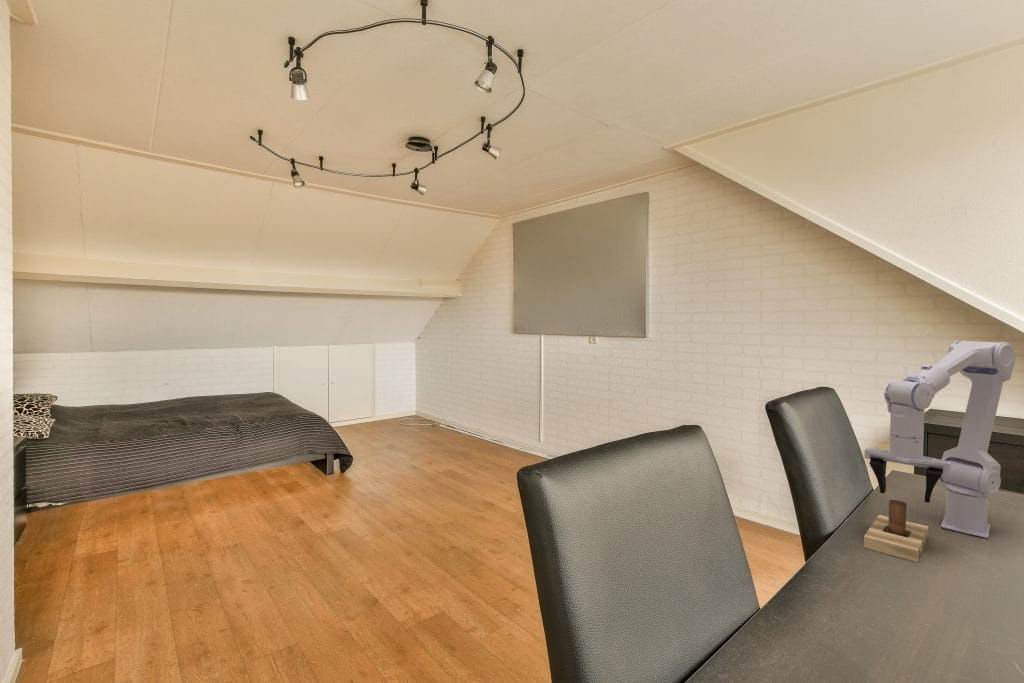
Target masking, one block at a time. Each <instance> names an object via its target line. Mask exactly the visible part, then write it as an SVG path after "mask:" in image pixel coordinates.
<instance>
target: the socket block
mask: <svg viewBox="0 0 1024 683" xmlns="http://www.w3.org/2000/svg"><path fill="white" fill-rule="evenodd" d="M888 523H889V516H886V515H881V514H878V516H877V517H876V518H875V520H874V521H873V522H872V524H871V526H870V527H869V529H868V530H867V531H866V533H865V534H864V536H863V537H864V538H863V548H864V549H867V550H871V551H874V552H879V553H882V554H886V555H888V556H893V557H896V558H901V559H904V560H907V561H909V562H914V563H918V562H919V561H920V557H921V555H922V554H923V550H924V548H925V545H926V542H927V540H928V539H929V526H928V525H924V524H919V523H915V522H912V521H907V520H906V535H905V537H903V536H899V535H895V534H891V533H888Z"/></svg>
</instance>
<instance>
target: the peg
mask: <svg viewBox="0 0 1024 683" xmlns="http://www.w3.org/2000/svg"><path fill="white" fill-rule="evenodd" d="M907 505H908V504H907V503H906V502H905V501H902V500H898V499H890V500H888V517H889V523H888V533H891V534H895V535H899V536H903V537H905V535H906V521H907Z"/></svg>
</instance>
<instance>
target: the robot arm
mask: <svg viewBox="0 0 1024 683" xmlns="http://www.w3.org/2000/svg"><path fill="white" fill-rule="evenodd" d="M1015 362H1016V353H1015V350H1014V348H1013V346H1012V345H1011V343H1009V342H1007V341H1001V342H999V341H974V340H971V341H970V340H962V339H959V340H955V341H954V342H953V343H951V344H950V345H949V346H948V352H947V354H945V355H944V356H943V357H942V358H941V359H940V360H939V361H938V362H936V363H935V364H934V363H933V364H932V363H930V364H928V363H927V364H926V363H924V364H922V365H921V366H920V368H919V369H917V370H915V371H914V372H913V373H911V374H909V375H907V377H905V378H904V379H902V380H901V379H895V380H893V381H892V382H891V381H890V382H889V383H888V384H887V385H886V386H885V392H884V393H883V397H884V400H885V402H886V405H887V411H888V413H889V414H890V419H889V420H890V421H889V423H890V424H889V450H883V449H874V448H865V450H864V459H867V460H869V463H868V464H869V466H870V468H871V469H872V471H873V473H874V476H875V478H876V481H877V483H878V488H879V493H880V494H883V495H884V494H885V493H886V491H887V482H886V479H887V478H886V475H887V474H886V473H887V472H886V471H887V464H888V462H889V463H895V464H903V465H908V466H914V467H919V468H924V469H925V468H926V471H925V492H924V503H927V504H929V503H930V502H931V496H932V495H933V494H932V493H933V490H934V488H935V486H936V485H937V482H940V483H942V487H943V488H945V513H944V516H943V519H942V522H941V524H940V527H941V528H942V529H945V530H951V531H953V532H959V533H963V534H967V535H972V536H974V537H975V536H977V537H981V538H984V539H989V536H990V529H991V524H990V523H988V513H989V512H988V510H989V497H991V496H992V495H994V494H996V493H997V492H998V491H999V489H1000V486H1001V484H1002V483H1001V482H1002V481H1001V480H1002V478H1001V469H1002V468H1001V467H1002V466H1001V465H1000V463H999V462H998V461H997V460H996V459H995V458H993V457H992V456H991V455H990V454H989V452H988V450H989V445H990V443H991V442H990V441H991V438H992V437H991V436H992V434H993V433H992V432H993V429H994V423H995V421H996V420H995V419H996V415H997V411H998V407H999V403H1000V399H1001V394H1002V389H1003V385H1004V382H1007V381H1010V380H1011V379H1012V378H1011V377H1012V375H1013V372H1014V371H1013V370H1014V367H1015ZM957 373H960V374H961V375H962V376H964V377H965V378H968V379H969V380H970V382H971V387H970V393H969V395H968V400H967V405H966V409H965V414H964V418H963V421H962V426H961V430H960V435H959V439H958V443H957V446H956V447H953V448H950V449H947V450H946V451H944V452H943V453H942V454H943V455H942V458H941V459H939V458H935V457H930V456H925V455H924V437H925V436H924V434H925V433H924V432H925V431H924V430H925V411H926V409H929V407H930V406H931V404H932V401H933V400H934V398H935V396H936V395H937V393H938V392H939V391H942V389H944V388H946V387H947V386H948V385H949V384H950V381H951V377H952V376H954V375H955V374H957ZM966 461H968V462H966ZM969 462H970V463H969ZM974 463H975V464H974ZM978 464H980V465H978Z"/></svg>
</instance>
